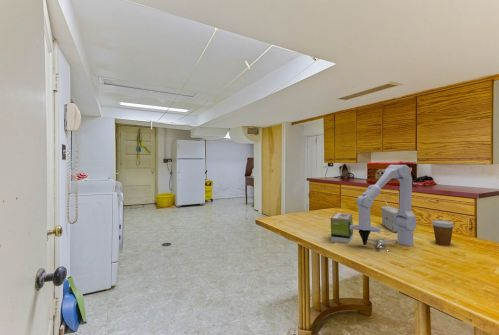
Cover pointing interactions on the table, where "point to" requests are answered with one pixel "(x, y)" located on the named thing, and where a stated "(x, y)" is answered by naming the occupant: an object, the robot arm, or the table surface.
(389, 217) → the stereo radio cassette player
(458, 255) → the table surface
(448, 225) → the disposable coffee cup
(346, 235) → the tea box
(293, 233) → the table surface
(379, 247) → the capstan
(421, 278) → the table surface
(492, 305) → the table surface
